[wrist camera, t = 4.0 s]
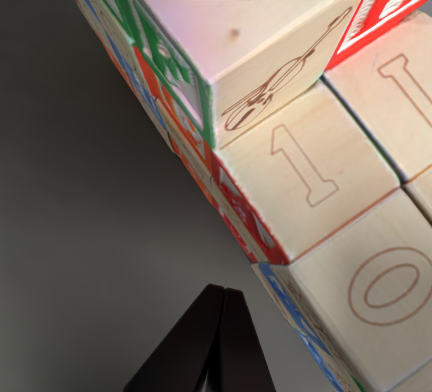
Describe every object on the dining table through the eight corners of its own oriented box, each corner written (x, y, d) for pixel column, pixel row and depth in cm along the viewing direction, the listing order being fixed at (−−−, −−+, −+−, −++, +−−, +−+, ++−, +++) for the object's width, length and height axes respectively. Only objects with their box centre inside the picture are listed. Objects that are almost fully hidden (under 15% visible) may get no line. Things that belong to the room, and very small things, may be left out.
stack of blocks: (447, 302, 16) (1095, 419, 4) (331, 388, 16) (698, 803, 4) (180, -51, 20) (117, -562, 7) (76, 10, 19) (-176, -433, 7)
